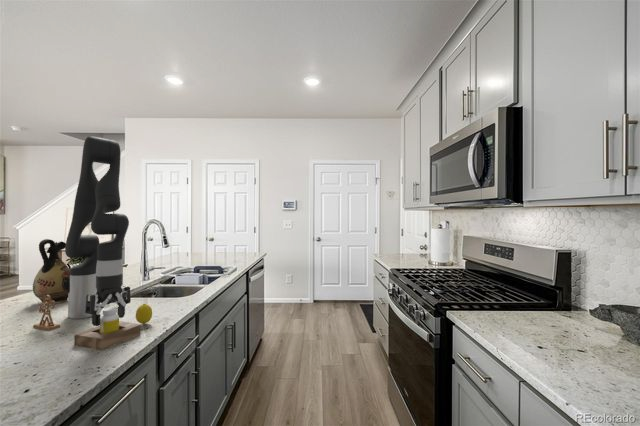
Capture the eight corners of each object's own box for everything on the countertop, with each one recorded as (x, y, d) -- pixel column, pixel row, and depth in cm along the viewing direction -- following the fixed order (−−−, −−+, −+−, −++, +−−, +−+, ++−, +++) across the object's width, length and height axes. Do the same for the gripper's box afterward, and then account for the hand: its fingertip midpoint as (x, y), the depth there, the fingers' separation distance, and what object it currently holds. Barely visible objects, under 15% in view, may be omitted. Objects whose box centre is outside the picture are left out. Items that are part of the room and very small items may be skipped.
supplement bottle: (122, 336, 108) (123, 307, 108) (107, 342, 102) (107, 312, 102) (111, 334, 109) (111, 306, 109) (95, 340, 104) (95, 310, 104)
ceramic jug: (55, 296, 158) (56, 237, 158) (82, 298, 156) (83, 237, 156) (18, 306, 141) (20, 239, 142) (48, 308, 139) (50, 240, 139)
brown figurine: (32, 327, 116) (33, 295, 116) (44, 324, 120) (45, 292, 120) (48, 330, 113) (49, 297, 113) (60, 327, 117) (61, 294, 117)
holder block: (74, 345, 101) (74, 334, 101) (114, 330, 114) (114, 320, 114) (101, 350, 97) (102, 339, 97) (140, 334, 110) (140, 324, 110)
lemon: (144, 327, 117) (145, 306, 117) (132, 326, 118) (132, 305, 118) (155, 322, 122) (155, 302, 122) (143, 321, 123) (143, 301, 123)
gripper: (120, 268, 114) (119, 313, 114) (79, 276, 100) (79, 327, 100) (136, 270, 111) (136, 316, 111) (97, 277, 98) (96, 330, 98)
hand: (109, 321), depth 106 cm, fingers open, 8 cm apart
